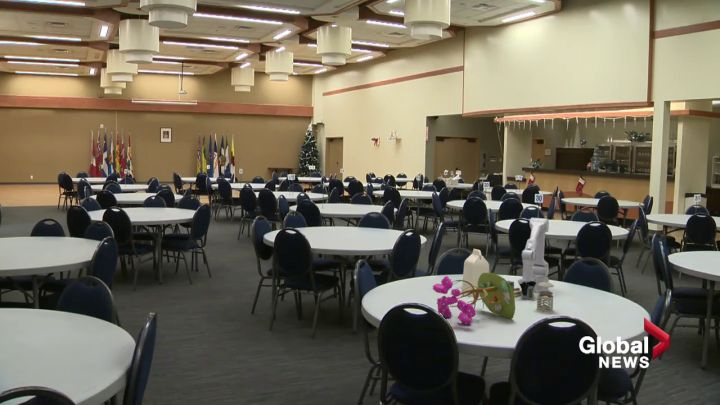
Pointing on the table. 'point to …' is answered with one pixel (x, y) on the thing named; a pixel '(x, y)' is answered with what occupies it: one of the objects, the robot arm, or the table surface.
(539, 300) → the french press
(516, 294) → the rail
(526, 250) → the robot arm
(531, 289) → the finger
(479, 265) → the milk
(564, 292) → the table surface
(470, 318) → the magenta flower sprig
